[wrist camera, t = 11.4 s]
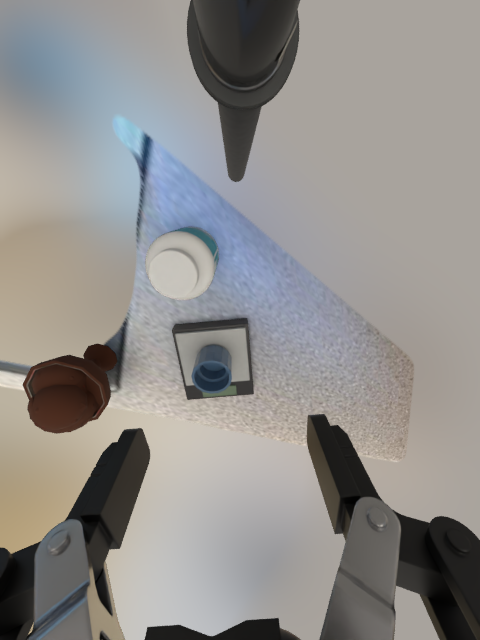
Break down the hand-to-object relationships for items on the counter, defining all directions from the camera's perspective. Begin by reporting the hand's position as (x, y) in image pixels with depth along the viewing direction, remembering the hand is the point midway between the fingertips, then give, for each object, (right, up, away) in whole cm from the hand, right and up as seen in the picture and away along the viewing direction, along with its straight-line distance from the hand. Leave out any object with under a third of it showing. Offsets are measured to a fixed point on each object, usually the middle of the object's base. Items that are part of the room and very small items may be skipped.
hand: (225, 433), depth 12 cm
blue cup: (-4, -1, +28) cm, 28 cm away
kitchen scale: (-3, -1, +31) cm, 31 cm away
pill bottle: (-6, +15, +24) cm, 29 cm away
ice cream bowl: (-24, -1, +30) cm, 38 cm away
